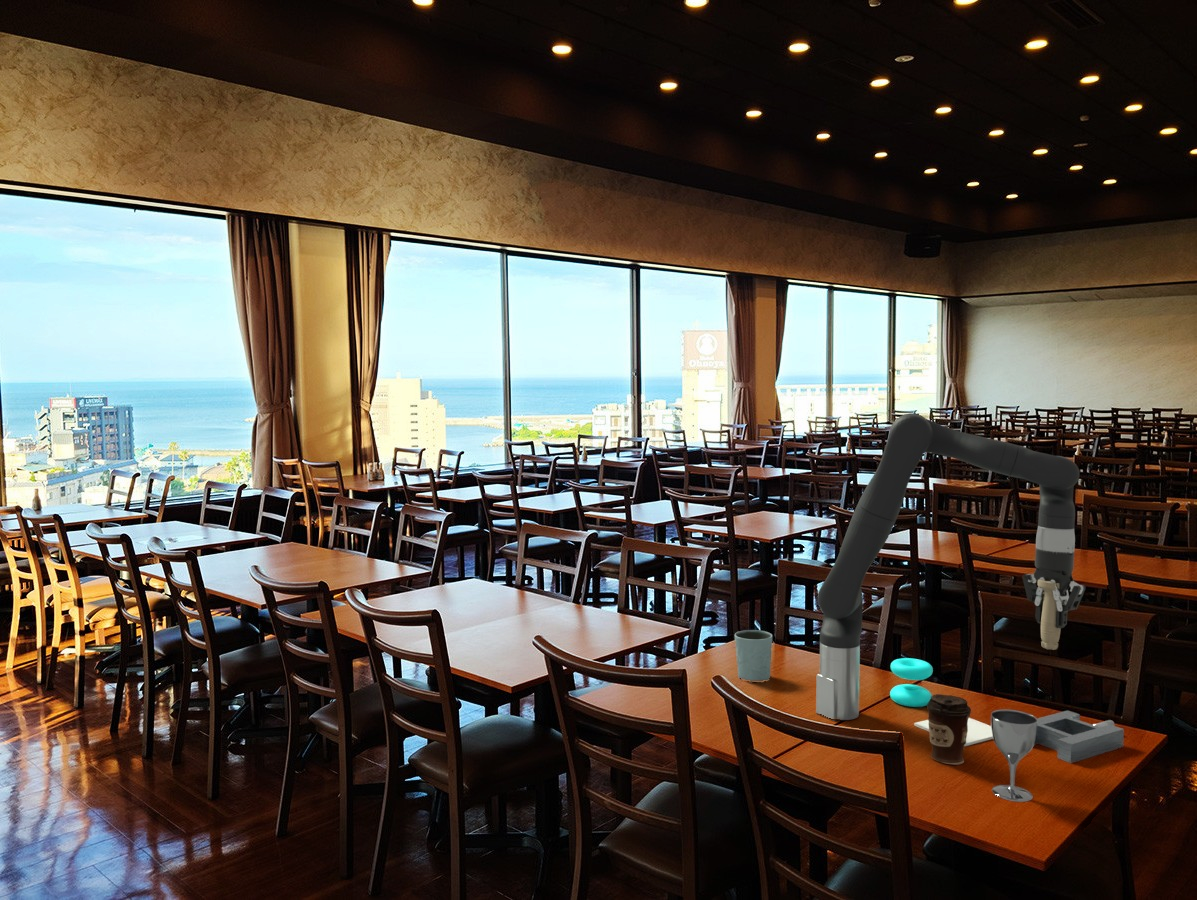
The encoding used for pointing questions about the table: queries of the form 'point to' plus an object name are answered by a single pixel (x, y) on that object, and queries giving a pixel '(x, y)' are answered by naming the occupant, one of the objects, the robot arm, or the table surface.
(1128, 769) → the table surface
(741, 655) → the grey-green tapered cup
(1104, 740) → the vise
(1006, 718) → the wine glass
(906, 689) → the donuts
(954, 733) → the coffee cup
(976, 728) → the mat
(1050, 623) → the handle
